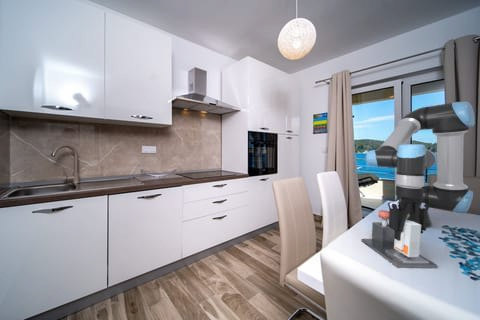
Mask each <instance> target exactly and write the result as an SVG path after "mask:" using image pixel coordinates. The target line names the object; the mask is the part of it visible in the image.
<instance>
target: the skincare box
mask: <svg viewBox="0 0 480 320" xmlns="http://www.w3.org/2000/svg"><path fill="white" fill-rule="evenodd" d="M402 232H404V250H400V249H399V248H397V247H395V243H396V239H395V240H394V249H396V250H398V251H399V252H401V253H403V254H404V255H406V256H408V257H419V255H420V248H421V246H420V245H421V234H422V233H421V225H420V224H418V223H415V222H413V221H410V220H407V219H406V220H405V223H404V227H403V230H402Z"/></svg>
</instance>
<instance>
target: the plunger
mask: <svg viewBox="0 0 480 320" xmlns="http://www.w3.org/2000/svg"><path fill="white" fill-rule="evenodd" d="M378 218H380V219H381V222H382V226H387V223H388V220H389V210H388V211H387V210H381V209H380V210H378Z"/></svg>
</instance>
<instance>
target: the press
mask: <svg viewBox="0 0 480 320" xmlns="http://www.w3.org/2000/svg"><path fill="white" fill-rule="evenodd" d="M371 225H372V227H371V238H361V239H360V240H361V242H362V243H363V244H364V245H365V246H366V247H368V248H370V249H371V250H372V251H374V252H375V253H376V254H378V255H379V256H381V257H382V258H383V259H385V260H386V261H387V260H388V261H387V262H389V263H390V264H391V263H392V266H394V267H396V268H397V269H438V264H437V263H435V262H433V261H432V260H430V259H428V258H426V257H424V256H423V255H421V254H419V257H408V256H406V255H404V254H403V253H401V252H399V251H398V250H396V249H394V240H395V238H394V232H395V231H394V230H393V229H391V228H389V222H387V226H382V221H381V222H379V221H378V222H374V221H373V222H372V224H371Z"/></svg>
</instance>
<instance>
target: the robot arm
mask: <svg viewBox="0 0 480 320" xmlns="http://www.w3.org/2000/svg"><path fill="white" fill-rule="evenodd" d="M475 121H476V116H475V111H474V109H473V105H472V104H471V103H470V102H469V101H456V102H455V101H454V102H448V103H443V104H436V105H430V106H424V107H419V108H417V109H414V110H412V111H411V112H409V113H407V114H406V115H404V116H403V117H401V118H400V120H399V121H398V122H397V123H396V127H395V129H394V130H393V131H392V132H391V134H389V136H388V137H387V138H386V140H385V141H383V143H382V144H381V145H380V147H379V148H378V149H372V150H369V151H367V153H366V156H365V160H366V163H367V165H368V166H371V167H378V168H381V167H382V168H396V176H395V184H396V186H395V196H396V199H395V201H394V202H391V201H390V202H388V203H387V205H388V208H389V210H388V211H389V219H388V224H389V228H391V229H393V230H394V231H395V232H394V238H395V239H396V243H395V247H397V248H399V249H400V250H404V232H402V230H403V227H404V223H405V220H406V219H407V220H410V221H413V222H415V223H418V224H420V225H421V234H423V233H424V231H425V232H426V231H427V228H431V227H432V220H431V219H430V214H429V212H428V211H429V208H431V209H436V210H441V211H446V212H451V213H458V214H466V213H467V212H469V209H470V207H471V206H472V201H473V197H474V191H472V190H470V189H469V186H468V185H467V184H465V183H464V141H465V140H464V139H465V138H464V135H465V134H466V133H467V132H469V131H470V128H471V127H474V126H475V124H476V122H475ZM425 130H428V131H429V130H431V131H432V134H433V135H435V136H436V154H435V153H434V152H433V151H430V150H427V149H426V145H425V144H417V143H416V144H415V143H414V144H413V143H411V144H407V143H408V142H409V141H410V139H411V138H412V136H413V135H414V134H416V133H418V132H419V131H425ZM435 165H436V181H435V182H433V183H432V186H431V185H430V183H428V182H425V170H428V169H430V168H432V167H434V166H435Z"/></svg>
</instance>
